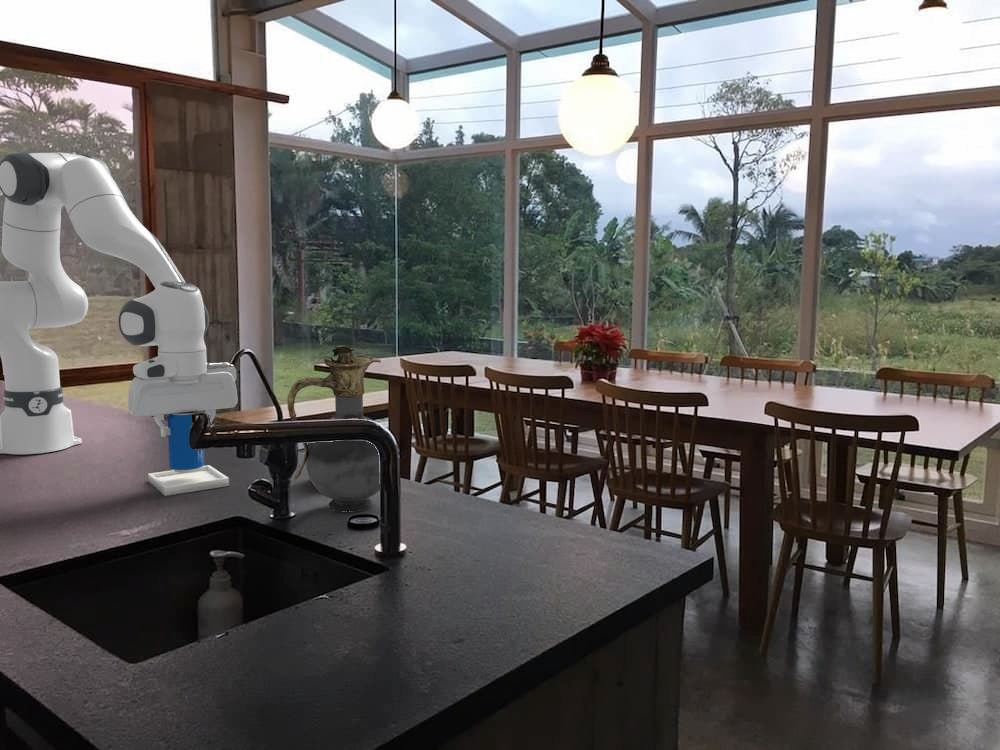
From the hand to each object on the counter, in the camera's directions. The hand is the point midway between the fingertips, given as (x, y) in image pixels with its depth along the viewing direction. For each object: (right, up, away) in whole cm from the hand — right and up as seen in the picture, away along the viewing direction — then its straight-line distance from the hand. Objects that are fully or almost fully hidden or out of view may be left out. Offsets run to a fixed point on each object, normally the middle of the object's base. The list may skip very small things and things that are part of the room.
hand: (186, 434), depth 161 cm
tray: (0, -10, +2) cm, 10 cm away
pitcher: (+34, -13, -13) cm, 38 cm away
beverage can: (0, -7, +1) cm, 7 cm away
